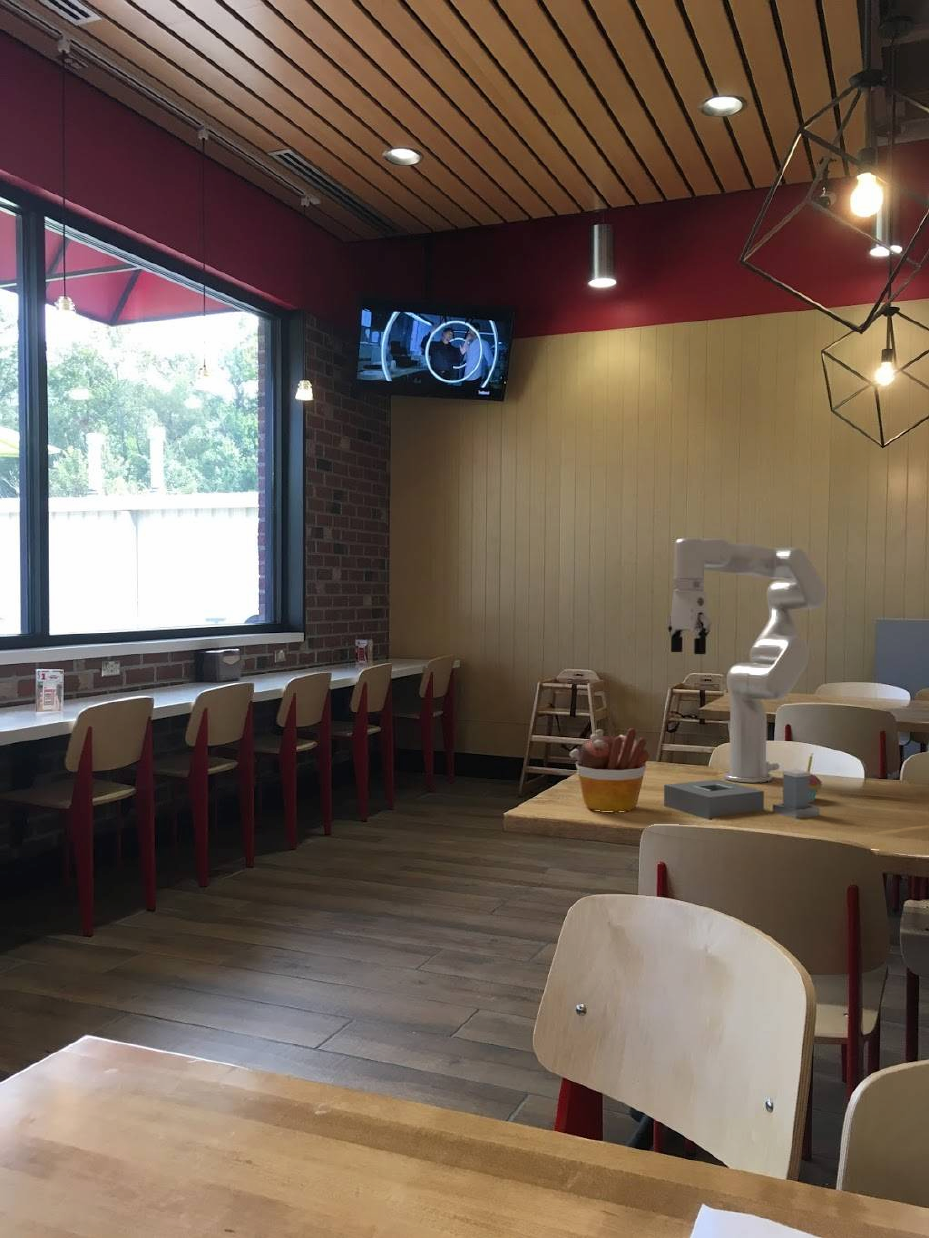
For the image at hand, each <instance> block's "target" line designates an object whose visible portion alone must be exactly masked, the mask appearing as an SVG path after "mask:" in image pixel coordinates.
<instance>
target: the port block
mask: <svg viewBox="0 0 929 1238" xmlns="http://www.w3.org/2000/svg"><path fill="white" fill-rule="evenodd" d="M663 787H664V788H663V789H664V791H663V796H664V797H663V806H664V807H667V808H670V809H674V810H677V811H679V810H680V812H683V813H687V814H690V815H693V816H696V817H699V818H703V819H706V820H714V818H713V817H720V816H729V815H737V814H746V813H753V812H761V811H762V812H763V811H764V810H765V809H764V808H765V805H764V804H765V797H764V796H765V791H764V790H761V789H756V788H752V787H749V786H744V785H740V784H736V783H733V782H729V781H724V780H721V779H709V780H699V781H689V782H681V783H669V784H664V785H663Z"/></svg>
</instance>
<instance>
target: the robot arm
mask: <svg viewBox="0 0 929 1238" xmlns="http://www.w3.org/2000/svg"><path fill="white" fill-rule="evenodd" d="M673 567H674V568H673V569H674V571H673V572H674V573H673V595H672V603H671V613H670V614H671V615H670V617H668V618H667V619H666V625H667V630H668V633H669V637H670V652H671V653H682V652H683V636H682V634H683V632H684V631H692V632H693V634H694V636H695V637H694V639H693V640H694V641H693V654H694V655H705V654H706V652H707V651H706V649H707V639H708V634H709V633H710V631H711V630H710V629H711V626H712V620H711V619H709V609H708V608H709V607H708V599H707V594H706V592H705V591H704V590H705V571H706V572H707V571H709V572H716V573H717V572H718V573H724V574H725V573H726V574H731V575H732V574H733V575H744V576H750V577H758V578H764V579H771V580H772V579H773V580H774V579H778V580H774V581H773V582H771V583H770V584H769V585H768V587H767V590H766V601H767V608H768V621H767V623H766V625H765V626H764V627H763V630H761V632H760V634H759V635H758V637H757V638H756V640H755V641H754V643H753V644H752V646H751V647H750V651H749V659H750V662H738V663H735V664H734V665H733V666H731V667H730V668H729V670H728V672H727V675H726V687H727V693H728V698H729V712H730V713H729V714H730V715H729V716H730V717H729V719H730V721H729V770H728V771H725V772H724V773H723V778H724V780H725V779H726V780H728V781H733V782H737V783H740V782H741V783H751V784H752V783H753V784H756V783H757V784H758V782H759V783H767V782H766V781H768V782H770V780H771V781H772V780H773V775H771V774H770V772H771V771H779V770H780V765H779V763H778V762H774V763H770V762H769V761H767V721H768V719H767V718H768V717H767V711H766V707H765V706H764V703H763V701H762V700H765V701H780V700H783V699H785V698H786V697H787V696H788V695H789V694H790V693H791V691H792V689H793V688H794V686H795V685H796V683H797V681H798V680H799V679H800V677H801V675H802V674H803V672H804V671H805V669H806V667H807V665H808V662H809V657H810V649H809V645H808V643H807V641H805V639H803V638H801V637H800V636H797V635H798V631H799V627H798V622H797V621H796V618H795V615H794V614H793V611H792V610H816V609H819V608H821V607H823V605H824V604H825V602H826V600H827V589H826V585H825V584H824V581H823V580H822V578H821V576H820V574H819V572H818V570H817V568H816V567H815V565H814V563H813V562H812V560H811V558H810V557H809V556H808V555H807V554H806V552H805V551H804V550H803V549H801V548H799V547H796V546H795V547H793V546H790V547H770V546H764V545H759V544H753V543H748V542H732V543H730V542H728V541H727V540H725V539H723V538H698V537H683V538H678V539H676V540H675V542H674V564H673Z"/></svg>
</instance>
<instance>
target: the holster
mask: <svg viewBox="0 0 929 1238" xmlns="http://www.w3.org/2000/svg"><path fill="white" fill-rule="evenodd" d="M772 813H774V814H778V815H782V816H785V817H789V818H792V819H802V818H811V817H812V818H813V817H819V816H820V815H821V812H820V806H816V805H812V804H809V808H802V809H793V808H789V807H785V806H783V802H781V803H773V804H772Z"/></svg>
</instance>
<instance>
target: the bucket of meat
mask: <svg viewBox="0 0 929 1238" xmlns="http://www.w3.org/2000/svg"><path fill="white" fill-rule="evenodd" d="M603 734H604V730H603V729H600V728H599V729H596V730H595V733H592V734H590V735H589V736H590V737H589V739H587V740H585V741H584V742H583V743H582V746H581V750H579V749H577V748H574V749H573V750H571V751H570V752H569V756H570V758H571V759H576V760H577V761H576V762H575V767H576V770H577V774H578V780H579V785H580V789H581V793H582V800H583V803H584V804H585V805H586V807H587V808H588V810H590V809H593V810H600V811H613V812H619V811H629V810H630V811H632V810H633V809H634V808H635V807H636V806H637V804H638V801H639V797H640V792H641V788H642V783H643V780H644V776H645V771H646V769H647V764H646V763H647V761H648V759H649V758H650V754H649V752H648V751H647V749H645V747H646V745H647V739H646V738H645V737H640V738H639V739H638V740H636V736H637V732H636V728H633V727H630V728H629V729H628V730H627V733H626V735H623V734H619V736H616V737H614V736H612V735H603ZM631 809H632V810H631ZM593 810H592V811H593ZM630 811H629V812H630Z"/></svg>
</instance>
